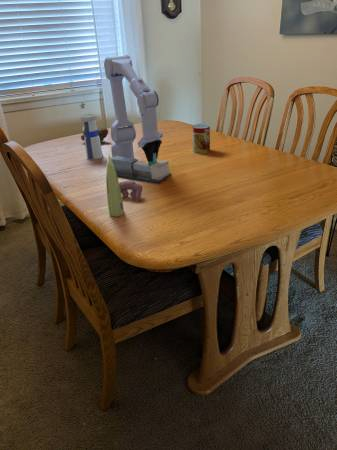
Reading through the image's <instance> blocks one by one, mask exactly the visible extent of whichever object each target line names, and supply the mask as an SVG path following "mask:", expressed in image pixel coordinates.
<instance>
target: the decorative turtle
mask: <svg viewBox="0 0 337 450" xmlns="http://www.w3.org/2000/svg"><path fill="white" fill-rule="evenodd" d="M97 130H98V135H99V138H100V143H101V144H102V143H103V142H104V140H105V138H107V136H108V135H109V130H108V129H107V127H103V128H101V129H100V128H98V129H97ZM84 138H85V136H84V135H83V134H82V135H80V139H81V140H82V141H84V142H85V140H84ZM102 141H103V142H102Z"/></svg>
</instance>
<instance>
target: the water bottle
mask: <svg viewBox="0 0 337 450" xmlns="http://www.w3.org/2000/svg"><path fill="white" fill-rule="evenodd" d="M85 105H86V103H84V102H83V101H81V104H79V107H80V109H81V110H82V109H86V108H85ZM98 119H99V117H98V115H97V114H96V113H86V114H84V115H83V116H82V117H81V116H79V121H80V124H82V123H83V127H82V135H84V136H85V138H84V140H85V141H84V145H85V156H86V159H87V158H88V159H87V160H99V159H101V158H103V157H104V155H103V150H102V143H100V138H99V135H98V130H97V129H99V127H98V125H97V120H98ZM102 156H103V157H102ZM98 158H99V159H98Z"/></svg>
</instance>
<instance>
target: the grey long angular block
mask: <svg viewBox="0 0 337 450" xmlns="http://www.w3.org/2000/svg"><path fill="white" fill-rule="evenodd" d="M111 159H112V162H113V165H114V168H115V171H116V174H117V178H122V179H127V180H131V181H140V182H143V183H149V184H155V185H160V184H161V183H163V182H164V181H165V180H167V179H169V178H170V177H171V176H172V172H169V175H168V176H166V177H165V178H163V179H162V180H156V179H152V175H151V172H145V171H139V170H133V169H132V164H131V163H132V162H134V161H137V162H138V160H137V159H138V158H135V157H134V158H129V157H122V156H114V157H112V156H111Z"/></svg>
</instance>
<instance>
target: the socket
mask: <svg viewBox="0 0 337 450" xmlns="http://www.w3.org/2000/svg"><path fill="white" fill-rule="evenodd" d="M169 173H170V167H169V161H167V160H157V162H156V163H154V164H153V165H151V175H152V179H156V180H162V179H163V178H165V177H166V176H168V175H169Z"/></svg>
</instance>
